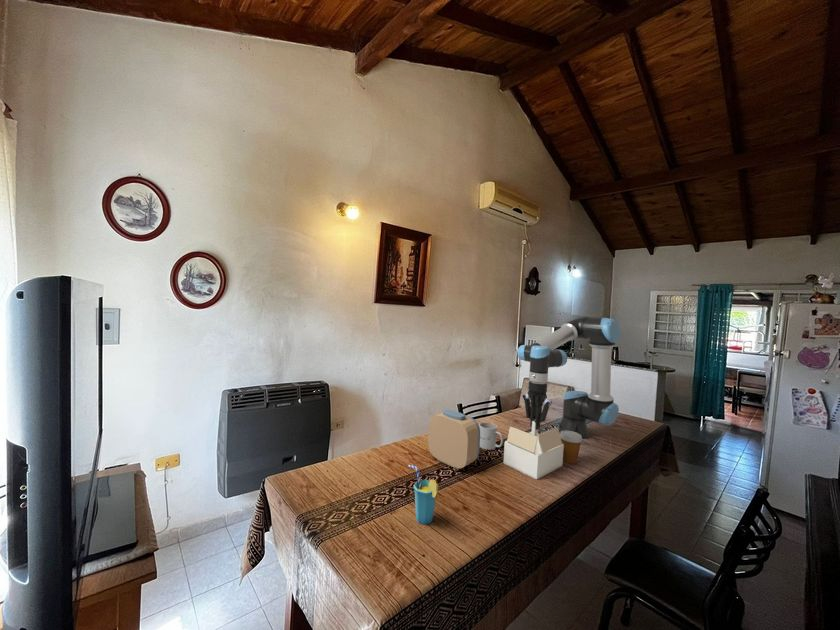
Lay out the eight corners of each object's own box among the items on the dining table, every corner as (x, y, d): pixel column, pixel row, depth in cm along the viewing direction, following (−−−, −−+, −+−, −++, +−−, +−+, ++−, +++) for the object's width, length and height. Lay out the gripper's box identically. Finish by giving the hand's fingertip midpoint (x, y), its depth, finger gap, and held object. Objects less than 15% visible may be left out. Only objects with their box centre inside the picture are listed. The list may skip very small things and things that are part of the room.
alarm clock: (479, 467, 139) (481, 416, 138) (465, 475, 132) (468, 422, 131) (441, 450, 153) (443, 404, 152) (427, 457, 146) (429, 408, 145)
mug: (474, 444, 162) (475, 424, 162) (485, 440, 167) (486, 421, 167) (494, 454, 152) (495, 432, 152) (505, 449, 158) (507, 429, 157)
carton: (529, 451, 157) (530, 430, 157) (563, 465, 144) (564, 443, 144) (502, 462, 144) (503, 440, 144) (536, 479, 132) (538, 455, 131)
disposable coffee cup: (583, 466, 144) (585, 439, 144) (560, 463, 146) (561, 436, 146) (577, 457, 154) (579, 431, 153) (555, 454, 155) (557, 429, 155)
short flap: (510, 426, 143) (510, 426, 143) (537, 436, 133) (537, 436, 133) (507, 441, 142) (506, 441, 142) (534, 453, 132) (534, 453, 132)
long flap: (556, 427, 144) (557, 427, 143) (561, 444, 142) (562, 444, 142) (537, 434, 134) (538, 434, 134) (541, 453, 133) (542, 453, 132)
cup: (398, 512, 107) (400, 466, 107) (415, 502, 113) (417, 459, 112) (430, 534, 97) (432, 484, 97) (447, 523, 103) (449, 475, 102)
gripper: (519, 379, 145) (516, 432, 146) (547, 386, 135) (543, 443, 136) (529, 377, 150) (526, 429, 151) (556, 384, 140) (553, 439, 141)
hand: (534, 435), depth 143 cm, fingers closed
